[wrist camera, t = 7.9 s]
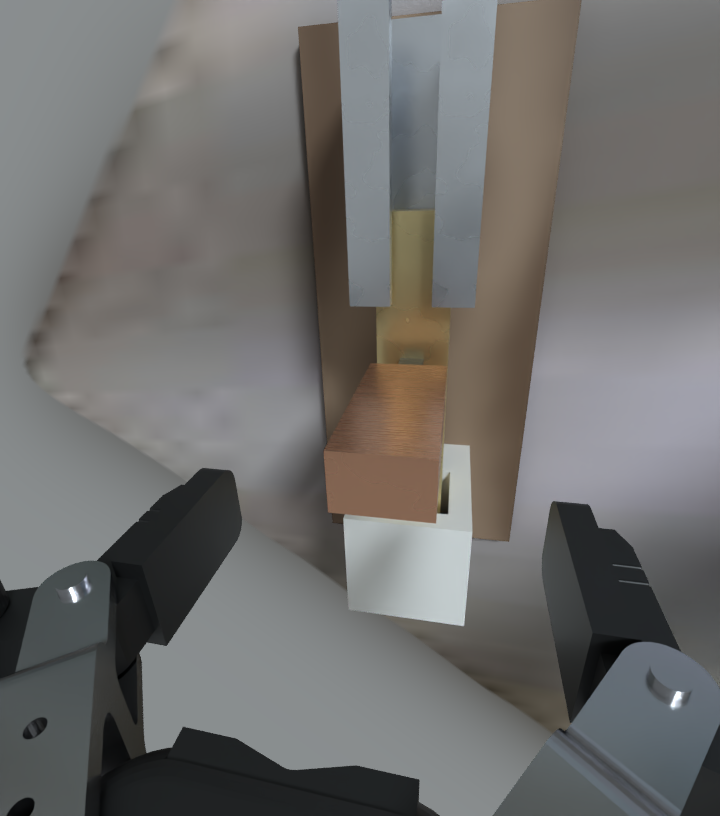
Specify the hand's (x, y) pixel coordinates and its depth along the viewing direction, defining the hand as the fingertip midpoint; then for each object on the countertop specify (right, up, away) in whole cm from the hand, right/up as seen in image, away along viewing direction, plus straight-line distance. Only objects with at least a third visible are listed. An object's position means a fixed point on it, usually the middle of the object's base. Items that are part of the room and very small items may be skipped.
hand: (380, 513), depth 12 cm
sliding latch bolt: (+2, +4, +12) cm, 12 cm away
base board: (+3, +7, +15) cm, 17 cm away
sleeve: (+3, +14, +11) cm, 18 cm away
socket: (+3, -2, +19) cm, 19 cm away
